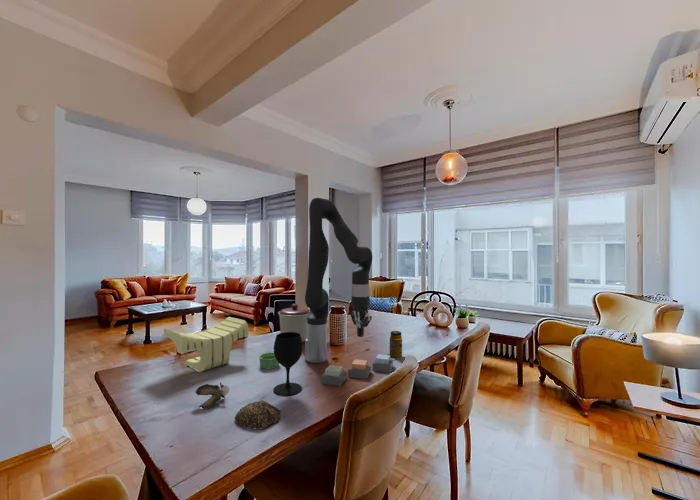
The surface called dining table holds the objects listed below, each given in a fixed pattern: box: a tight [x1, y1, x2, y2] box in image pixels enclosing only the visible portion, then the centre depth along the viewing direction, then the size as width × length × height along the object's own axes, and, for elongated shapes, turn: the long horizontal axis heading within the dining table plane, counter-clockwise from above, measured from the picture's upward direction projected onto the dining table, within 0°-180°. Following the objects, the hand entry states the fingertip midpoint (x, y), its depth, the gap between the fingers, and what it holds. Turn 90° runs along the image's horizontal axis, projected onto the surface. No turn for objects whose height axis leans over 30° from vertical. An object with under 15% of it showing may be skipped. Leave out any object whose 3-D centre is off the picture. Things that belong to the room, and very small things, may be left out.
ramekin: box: [258, 352, 280, 369], centre depth 137 cm, size 9×9×4 cm
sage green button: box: [324, 364, 344, 377], centre depth 122 cm, size 5×5×3 cm
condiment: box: [386, 330, 405, 361], centre depth 151 cm, size 7×8×12 cm
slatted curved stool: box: [163, 316, 249, 373], centre depth 137 cm, size 30×16×18 cm, turn 144°
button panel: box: [320, 358, 394, 387], centre depth 129 cm, size 11×36×3 cm, turn 123°
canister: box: [277, 303, 310, 343], centre depth 174 cm, size 18×18×21 cm
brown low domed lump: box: [234, 399, 282, 430], centre depth 94 cm, size 13×12×5 cm
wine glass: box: [272, 332, 304, 397], centre depth 114 cm, size 10×10×20 cm
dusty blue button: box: [375, 354, 390, 365], centre depth 136 cm, size 5×5×3 cm
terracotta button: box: [351, 358, 369, 370], centre depth 129 cm, size 5×5×3 cm
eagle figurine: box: [194, 381, 230, 410], centre depth 103 cm, size 8×7×9 cm
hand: (360, 336), depth 129 cm, fingers closed
